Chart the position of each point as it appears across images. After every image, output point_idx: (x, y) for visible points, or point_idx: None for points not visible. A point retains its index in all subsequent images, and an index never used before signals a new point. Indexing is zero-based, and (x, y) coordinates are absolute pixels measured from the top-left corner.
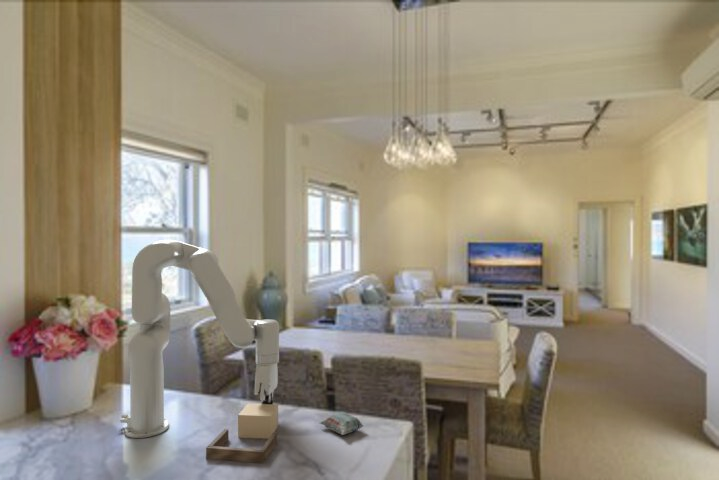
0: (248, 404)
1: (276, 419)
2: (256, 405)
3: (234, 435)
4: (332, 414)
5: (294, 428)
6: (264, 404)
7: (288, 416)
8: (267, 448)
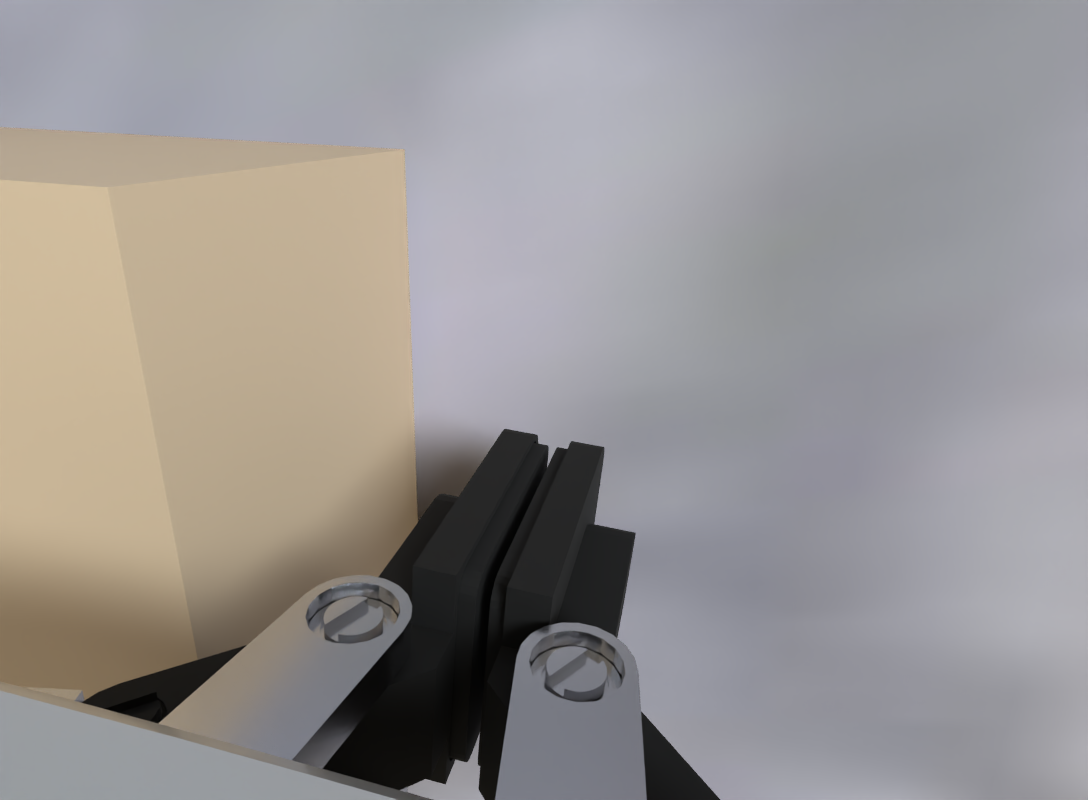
0: (48, 236)
1: None
2: (61, 484)
3: (15, 43)
4: None
5: None
6: (178, 659)
7: (730, 722)
8: None
